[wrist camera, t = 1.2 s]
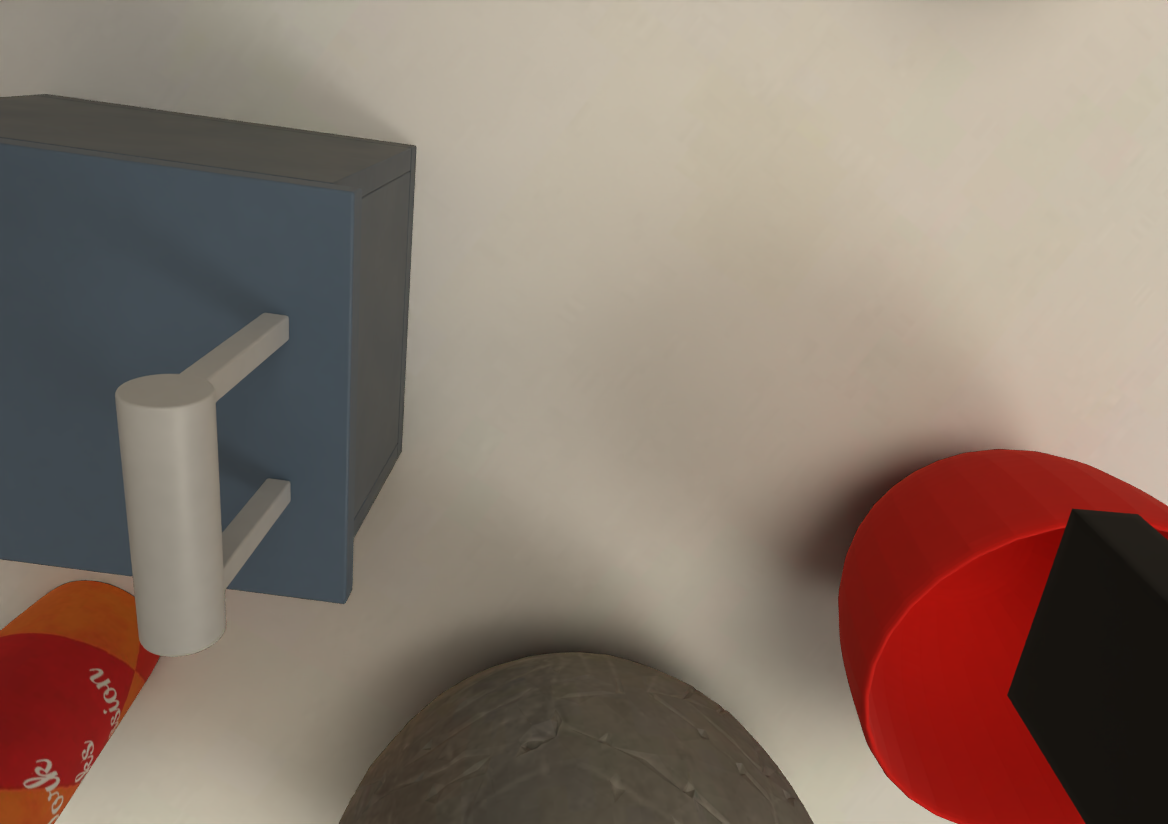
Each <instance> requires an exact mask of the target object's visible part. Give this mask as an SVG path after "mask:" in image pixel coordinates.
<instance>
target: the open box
mask: <svg viewBox="0 0 1168 824" xmlns="http://www.w3.org/2000/svg"><path fill="white" fill-rule="evenodd" d="M0 138H5V139H12V140H19V141H26V142H33V143H41V144H48V145H55V146H62V147H70V148H77V149H84V150H91V151H98V152H106V153H113V154H120V155H127V156H135V157H142V158H149V159H156V160H163V161H171V162H178V163H185V164H192V165H200V166H207V167H214V168H221V169H228V170H236V171H243V172H250V173H257V174H265V175H272V176H279V177H286V178H294V179H301V180H308V181H315V182H322V183H330V184H337V185H344V186H351V187H359V188H361V189H362V219H361V259H360V300H359V340H358V381H357V421H356V462H355V502H354V537H355V535H356V534H357V532H358V530H359V528H360V526H361V525H362V523H363V521H364V519H365V517H366V515H367V514H368V512H369V510H370V508H371V506H372V504H373V503H374V501H375V499H376V497H377V495H378V494H379V492H380V490H381V488H382V486H383V484H384V483H385V481H386V479H387V477H388V475H389V473H390V472H391V470H392V468H393V466H394V464H395V462H396V461H397V459H398V457H399V455H400V453H401V452H402V431H403V411H404V390H405V370H406V349H407V329H408V308H409V288H410V267H411V247H412V226H413V206H414V185H415V165H416V146H414V145H407V144H400V143H393V142H385V141H378V140H371V139H364V138H357V137H350V136H342V135H335V134H328V133H321V132H314V131H307V130H299V129H292V128H285V127H278V126H271V125H263V124H256V123H249V122H242V121H235V120H228V119H220V118H213V117H206V116H199V115H192V114H185V113H177V112H170V111H163V110H156V109H149V108H141V107H134V106H127V105H120V104H113V103H106V102H98V101H91V100H84V99H77V98H70V97H63V96H55V95H48V94H41V95H27V96H12V97H0Z"/></svg>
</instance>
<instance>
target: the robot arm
mask: <svg viewBox="0 0 1168 824" xmlns="http://www.w3.org/2000/svg"><path fill="white" fill-rule="evenodd" d="M1007 696H1008V698H1009V699H1010V701H1011V702H1012V704H1013V706H1014V707H1015V709H1016V711H1017V712H1018V714H1019V716H1020V717H1021V719H1022V720H1023V722H1024V724H1025V725H1026V727H1027V729H1028V730H1029V732H1030V734H1031V735H1032V737H1033V738H1034V740H1035V742H1036V743H1037V745H1038V747H1039V748H1040V750H1041V752H1042V753H1043V755H1044V757H1045V758H1046V760H1047V761H1048V763H1049V765H1050V766H1051V768H1052V770H1053V771H1054V773H1055V775H1056V776H1057V778H1058V779H1059V781H1060V783H1061V784H1062V786H1063V788H1064V789H1065V791H1066V793H1067V794H1068V796H1069V797H1070V799H1071V801H1072V802H1073V804H1074V806H1075V807H1076V809H1077V811H1078V812H1079V814H1080V815H1081V817H1082V819H1083V820H1084V822H1085V824H1168V540H1167V539H1166V538H1165V537H1164V536H1163V535H1161V534H1160V533H1159V532H1158V531H1157V530H1156V529H1155V528H1153V527H1152V526H1151V525H1150V524H1149V523H1148V522H1147V521H1145V520H1144V519H1143V518H1142V517H1141V516H1140V515H1139V514H1131V513H1120V512H1108V511H1096V510H1084V509H1073V508H1072V510H1071V513H1070V516H1069V519H1068V522H1067V525H1066V527H1065V530H1064V533H1063V536H1062V539H1061V542H1060V545H1059V548H1058V550H1057V553H1056V556H1055V559H1054V562H1053V565H1052V568H1051V571H1050V573H1049V576H1048V579H1047V582H1046V585H1045V588H1044V591H1043V594H1042V596H1041V599H1040V602H1039V605H1038V608H1037V611H1036V614H1035V617H1034V619H1033V622H1032V625H1031V628H1030V631H1029V634H1028V637H1027V640H1026V642H1025V645H1024V648H1023V651H1022V654H1021V657H1020V660H1019V662H1018V665H1017V668H1016V671H1015V674H1014V677H1013V680H1012V683H1011V685H1010V688H1009V691H1008V694H1007Z"/></svg>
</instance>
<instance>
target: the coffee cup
mask: <svg viewBox="0 0 1168 824" xmlns="http://www.w3.org/2000/svg"><path fill="white" fill-rule="evenodd" d="M159 657H160V655H156V654H153V653H151V652H149V651H147V650H146V649H145V648H144V647H143V646H142V645H141V643H140V641H139V634H138V624H137V614H136V604H135V597H134V596H132V595H131V594H129V593H127V592H126V591H124V590H122V589H120V588H117V587H115V586H112V585H109V584H106V583H102V582H97V581H74V582H69V583H66V584H63V585H61V586H59V587H57V588H55V589H54V590H52V591H50V592H49V593H48V594H46V595H45V596H43V597H42V598H41V599H39V600H38V601H37V602H36V603H34V604H33V605H32V606H30V607H29V608H28V609H27V610H25V611H24V612H23V613H22V614H20V615H19V616H18V617H17V618H15V619H14V620H13V621H12V622H10V623H9V624H8V625H7V626H5V627H4V628H3V629H2V630H0V824H54V823H55V822H56V820H57V819H58V817H59V816H60V814H61V812H62V811H63V809H64V808H65V806H66V805H67V803H68V802H69V800H70V799H71V797H72V796H73V794H74V793H75V791H76V790H77V788H78V786H79V785H80V783H81V782H82V780H83V779H84V777H85V776H86V774H87V773H88V771H89V770H90V768H91V766H92V765H93V763H94V762H95V760H96V759H97V757H98V756H99V754H100V753H101V751H102V749H103V748H104V746H105V745H106V743H107V742H108V740H109V739H110V737H111V736H112V734H113V733H114V731H115V729H116V728H117V726H118V725H119V723H120V722H121V720H122V719H123V717H124V715H125V714H126V712H127V711H128V709H129V708H130V706H131V705H132V703H133V701H134V700H135V698H136V697H137V695H138V694H139V692H140V690H141V689H142V687H143V685H144V684H145V682H146V681H147V679H148V677H149V676H150V674H151V672H152V671H153V669H154V667H155V665H156V663H157V662H158V659H159Z"/></svg>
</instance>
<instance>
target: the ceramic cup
mask: <svg viewBox="0 0 1168 824" xmlns="http://www.w3.org/2000/svg"><path fill="white" fill-rule="evenodd" d="M1072 508H1073V509H1084V510H1096V511H1108V512H1120V513H1131V514H1139V515H1140V516H1141V517H1142V518H1143V519H1144V520H1145V521H1147V522H1148V523H1149V524H1150V525H1151V526H1152V527H1153V528H1155V529H1156V530H1157V531H1158V532H1159V533H1160V534H1161V535H1163V536H1164V537H1165V538H1166V539H1167V540H1168V506H1167V505H1165V504H1163V503H1162V502H1160V501H1159V500H1157V499H1155V498H1154V497H1152V496H1150V495H1149V494H1147V493H1145V492H1143V491H1142V490H1140V489H1138V488H1136V487H1134V486H1132V485H1130V484H1128V483H1126V482H1124V481H1122V480H1120V479H1118V478H1115V477H1113V476H1111V475H1109V474H1107V473H1105V472H1103V471H1101V470H1099V469H1096V468H1094V467H1092V466H1089V465H1087V464H1084V463H1081V462H1078V461H1074V460H1070V459H1066V458H1062V457H1058V456H1054V455H1050V454H1046V453H1041V452H1036V451H1023V450H1006V449H994V450H985V451H976V452H967V453H962V454H959V455H955V456H952V457H948V458H945V459H942V460H938V461H936V462H934V463H932V464H930V465H927V466H925V467H923V468H921V469H919V470H917V471H915V472H913V473H912V474H910V475H909V476H907V477H906V478H904V479H903V480H901V481H900V482H898V483H897V484H896V485H894V486H893V487H892V488H891V489H890V490H889V491H888V492H887V493H886V494H884V495H883V496H882V497H881V498H880V499H879V500H878V501H877V502H876V503H875V504H874V505H873V507H872V508H871V510H870V511H869V513H868V514H867V515H866V517H865V518H864V520H863V521H862V523H861V524H860V526H859V527H858V529H857V531H856V534H855V536H854V538H853V540H852V543H851V545H850V547H849V550H848V552H847V555H846V558H845V562H844V567H843V572H842V577H841V582H840V587H839V596H838V607H839V634H840V644H841V650H842V656H843V661H844V666H845V671H846V675H847V679H848V683H849V687H850V690H851V694H852V697H853V701H854V704H855V707H856V710H857V714H858V717H859V720H860V724H861V727H862V730H863V733H864V736H865V739H866V742H867V744H868V746H869V748H870V750H871V752H872V753H873V755H874V756H875V758H876V760H877V761H878V763H879V765H880V766H881V768H882V769H883V771H884V773H885V774H886V776H887V777H888V778H889V779H890V780H891V781H892V782H893V783H894V784H895V785H896V786H897V787H898V788H899V789H900V790H901V791H902V792H903V793H904V794H905V795H906V796H907V797H908V798H910V799H911V800H913V801H914V802H916V803H918V804H919V805H921V806H922V807H924V808H925V809H927V810H928V811H930V812H932V813H933V814H935V815H937V816H939V817H942V818H944V819H947V820H949V821H952V822H954V823H957V824H1085V822H1084V820H1083V819H1082V817H1081V815H1080V814H1079V812H1078V811H1077V809H1076V807H1075V806H1074V804H1073V802H1072V801H1071V799H1070V797H1069V796H1068V794H1067V793H1066V791H1065V789H1064V788H1063V786H1062V784H1061V783H1060V781H1059V779H1058V778H1057V776H1056V775H1055V773H1054V771H1053V770H1052V768H1051V766H1050V765H1049V763H1048V761H1047V760H1046V758H1045V757H1044V755H1043V753H1042V752H1041V750H1040V748H1039V747H1038V745H1037V743H1036V742H1035V740H1034V738H1033V737H1032V735H1031V734H1030V732H1029V730H1028V729H1027V727H1026V725H1025V724H1024V722H1023V720H1022V719H1021V717H1020V716H1019V714H1018V712H1017V711H1016V709H1015V707H1014V706H1013V704H1012V702H1011V701H1010V699H1009V698H1008V696H1007V694H1008V691H1009V688H1010V685H1011V683H1012V680H1013V677H1014V674H1015V671H1016V668H1017V665H1018V662H1019V660H1020V657H1021V654H1022V651H1023V648H1024V645H1025V642H1026V640H1027V637H1028V634H1029V631H1030V628H1031V625H1032V622H1033V619H1034V617H1035V614H1036V611H1037V608H1038V605H1039V602H1040V599H1041V596H1042V594H1043V591H1044V588H1045V585H1046V582H1047V579H1048V576H1049V573H1050V571H1051V568H1052V565H1053V562H1054V559H1055V556H1056V553H1057V550H1058V548H1059V545H1060V542H1061V539H1062V536H1063V533H1064V530H1065V527H1066V525H1067V522H1068V519H1069V516H1070V513H1071V510H1072Z"/></svg>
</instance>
